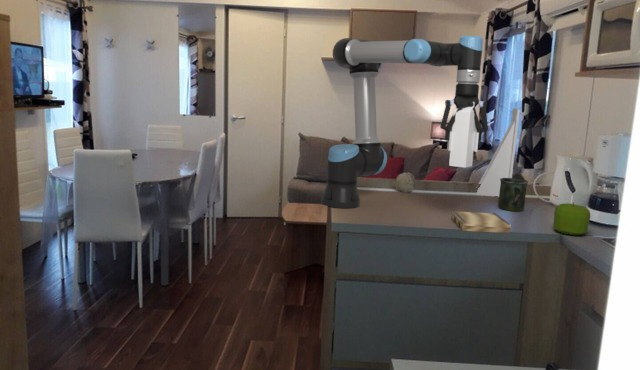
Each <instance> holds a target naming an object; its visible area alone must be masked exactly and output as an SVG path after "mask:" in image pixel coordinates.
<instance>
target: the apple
mask: <svg viewBox="0 0 640 370" xmlns="http://www.w3.org/2000/svg"><path fill="white" fill-rule="evenodd" d="M553 215H554V216H553V228H554V229H555V230H556V231H557V232H559V233H560V232H561V233H560V234H563V233H564V234H563V235H568V234H569V236H570V235H571V236H580V235H583V234H586V233H587V232H588V227H589V225H590V221H591V212H590V210H589V209H588V208H587V207H586V206H584V205H579V204H574V202H572V203H560V204H559V205H557V206H556V207H555V210H554V214H553Z"/></svg>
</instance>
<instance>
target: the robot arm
mask: <svg viewBox="0 0 640 370" xmlns="http://www.w3.org/2000/svg"><path fill="white" fill-rule="evenodd" d="M483 45H484V44H483V37H481V36H479V35H462V36H460V37H459V41H458V42H456V43H453V42H451V43H449V42H447V43H444V42H438V41H431V40H427V39H422V38H412V39H410V40H408V39H407V40H406V39H405V40H380V41H379V40H377V41H374V40H373V41H371V40H369V39H357V38H352V37H345V38H342V39H339V40H338V41H337V42H336V43H335V44H334V46H333V49H332V59H333V61H334V62H335V63H336V65H338V66H339V67H341V68H343V69H348V70H349V77H351V78H352V79H353V99H354V100H353V102H354V103H353V104H354V128H355V131H354V132H355V139H354V140H353V141H352V143H342V144H341V143H340V144H336V145H332V146H331V147H330V148H329V149H328V156H327V175H326V176H327V177H326V179H327V181H326V186H325V188H324V191H323V193H322V197H321V204H322V205H323V206H327V207H330V208H337V209H352V208H353V209H354V208H358V207H360V204H361V198H360V195H359V189H358V186H357V185H358V184H357V181H358V177H367V176H369V177H370V176H374V175H378V174H380V173H381V172H383V170H384V169H385V168H386V166H387V162H388V155H387V152H386V151H385V149H384V148H383V147H382V144H381V143H382V142H381V140H380V139H378V136H377V135H378V133H377V131H378V130H377V129H378V128H377V102H376V101H377V100H376V78H377V76H378V75H379V70H380V69H381V68H382V65H383V64H422V65H423V64H424V65H430V66H432V67H433V66H434V67H451V66H452V67H453V66H456V69H457V70H456V83H457V84H455V93H454V97H453V99H446V100H445V103H444V104H445V107H444V111H443V116H442V119H441V123H440V129H442V130H444V131H445V133H444V140H445V141H447V144H446V146H447V148H446V149H447V151H448V152H450V151H451V143H452V126H453V124H454V122H455V116H456V113H455V115H454V116H453V115H452V116H451V118H450V119H449V116H450V115H449V114H450V111H451V107H452V106H453V105H455V108H456V107H457V108H458V109H457V111H456V112H458V111H460V110H462V109H463V108H466V107H473V106H474V108H473V111H474V120H475V125H476V128H475V130H476V131H475V140H474V151H473V153H474V152H475V153H478V148H479V146H478V145H479V143H481V142H482V136H483V135H482V134H483V132H487V131H488V130H489V128H488V116H487V106H488V102H487V101H485V100H480V99H479V93H480V92H479V91H480V85H479V83H480V77H481V68H482V67H481V64H482V57H483V56H482V54H483V51H484V50H483ZM473 102H474V104H473ZM477 106H479V108H480V117H481V118H480V119H481V123H480V120H479V118H478V113H477V114H476V111H477V109H476V107H477ZM475 109H476V110H475ZM448 119H449V121H448ZM447 122H448V123H447Z"/></svg>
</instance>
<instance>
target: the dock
mask: <svg viewBox="0 0 640 370" xmlns="http://www.w3.org/2000/svg"><path fill="white" fill-rule="evenodd" d="M450 220H451V221H452V222H455V225H456V226H458V227H459V229H460V230H461V232H462V231H463V232H477V233H479V232H480V233H500V234H510V233H511V232H510V231H511V226H512V224H511V223H510V222H508V221H507V220H505V219H504V218H503V217H501V216H500V215H499V214H497V213H496V212H471V211H455V210H452V211H451V219H450Z"/></svg>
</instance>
